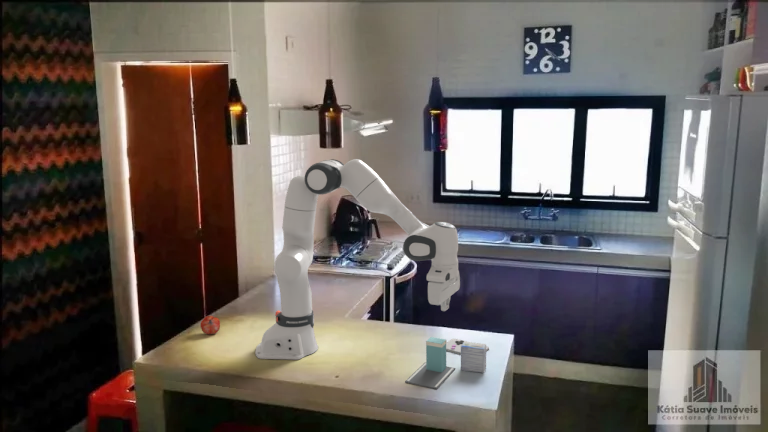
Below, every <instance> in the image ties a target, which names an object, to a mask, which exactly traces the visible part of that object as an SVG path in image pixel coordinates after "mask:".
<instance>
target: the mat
mask: <svg viewBox="0 0 768 432" xmlns="http://www.w3.org/2000/svg"><path fill="white" fill-rule="evenodd" d="M455 370H456V368H455V367H451V366H447V365H446V369H445V370H444V371H443V372H437V371H432V370H427V369H426V361H425V362H424V363H423V364H422V365H421V366H419V368H418V369H417V370H415V371H414V372H413V373H412V374H411V375H410V376H409V377H408V378H407V379H406V380H405V381H404V382H405V383H406V384H409V385H410V384H411V385H414V386H415V385H416V386H419V387H425V388H430V389H434V390H438V389H439V388H440V387H441V385H442V384H443V383H445V381H446V380H447V379H448V378H449V377H450V376H451V375H452V374H453V372H454V371H455Z"/></svg>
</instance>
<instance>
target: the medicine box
mask: <svg viewBox="0 0 768 432" xmlns="http://www.w3.org/2000/svg"><path fill="white" fill-rule="evenodd" d="M486 346H487V344H486V343H481V342H472V341H471V342H470V341H467V342H463V344H462V345H461V354H460V370H461V371H466V372H474V373H483V374H484V373H485V372H486V369H487V351H486Z"/></svg>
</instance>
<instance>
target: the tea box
mask: <svg viewBox="0 0 768 432" xmlns="http://www.w3.org/2000/svg"><path fill="white" fill-rule="evenodd" d="M446 343H447V339H446V338H440V337H433V336H431V337H429V338H428V339H427V340H426V341H425V346H426V348H425V349H426V350H425V351H426V353H425V354H426V355H425V356H426V359H425V360H426V361H425V362H426V369H427V370H432V371H437V372H443V371H444V370H445V369H446V366H447V351H446Z"/></svg>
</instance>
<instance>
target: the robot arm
mask: <svg viewBox="0 0 768 432" xmlns="http://www.w3.org/2000/svg"><path fill="white" fill-rule="evenodd" d="M340 188H343V189H345V190H347V191H348V192H349V193H350V194H351V196H352V197H354V198H355V200H356V201H357V202H358V203H359V204H360V205H361V206H362V207H363V208H364V209H366V210H367V211H368V212H370V213H375V214H381V215H385V216H387V217H390V218H391V219H392V220H393V221H394V222H395V223H396V224H397V225H398V226H400V228H401V229H402V230H403V232H405V233H406V234H407V235H408V236H407V237H406V238H405V239H404V241H403V244H402V245H403V246H402V249H403V252H404V255H405V256H406V257H407V258H408V259H409V260H410V261H414V262H420V261H421V262H422V261H429V260H431V266H430V269H429V271H428V273H426V281H428V283H427V300H428V303H429V305H433V306H434V305H435V306H440V310H441V311H442V312H446V311H447V310H448V309H450V303H451V302H450V301H451V296H452V295H454V294H455V293H456V292H457V291H459V290H460V287H461V281H460V280H461V277H460V270H459V259H458V252H459V237H458V236H459V235H458V231H457V228H456V226H455V225H453V224H451V223H450V222H445V221H436V222H434V223H433V224H431V225H428V224H426V223H424V222H423V221H421V220H420V219H419V218H418V217H417V216H416V215H415V214H414V213H413V212H412V211H411V210H410V209H409V208H408V207H407V206H406V205H405V204H404V203H403V202H402V201H401V200H400V199H399V198H398V197H397V196H396V194H395V193H394V192H393V191H392V190H391V188H390V187H389V186H388V185H387V183H386V182H385V181H384V180H383V179H382V178H381V177H380V175H379V174H378V173H377V172H376V171H374V169H373V168H372V167H370V166H369V165H368V164H367V163H365V162H364V161H363V160H362V159H359V158H354V159H351V160H348V161H347V162H346V163H345V164H344V163H343V162H342V161H340V160H338V159H334V158H332V159H324V160H320V161H319V162H316V163H314V164H312V165H310V166H309V167H308V169H306V172H305V174H304V175H297V176H294V177H293V178H292V179H291V180H290V181H289V184H288V187H287V189H286V190H287V191H286V195H285V199H284V201H285V202H284V209H283V217H282V226H281V227H282V232H283V247H282V249H281V250H282V251H281V252H280V253H279V254H277V256H276V258H275V261H274V265H273V269H274V270H273V271H274V274H275V276H276V279H277V283H278V287H279V288H278V289H279V293H280V294H279V295H280V310H276V311H275V323H274V324H273V325H272V326H270V327H269V328H268V329H266V330H265V331H264V333H263V335H262V338H261V340H260V341H261V342H260V343H259V344H257V346H256V347H255V354H254V355H255V357H257V359H259V360H260V359H261V360H265V359H266V360H301V359H302V358H304V357H307V356H308V355H311V354H313V353H316V352H317V351H318V349H319V345H318V343H317V340H316V335H315V329H314V326H315V315H314V310H313V303H312V302H313V301H312V300H313V299H312V296H313V295H312V289H311V286H310V282H309V278H308V277H309V276H308V275H309V274H308V271H309V267H310V266H311V264H312V263H313V260H314V249H315V248H314V247H315V246H314V245H315V242H314V241H315V239H314V234H315V233H314V232H315V224H316V215H317V214H316V213H317V207H318V206H317V204H318V199H319V197H320V195H321V196H323V195H326V194H330V193H333V192H336V191H337V190H338V189H340Z"/></svg>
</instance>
